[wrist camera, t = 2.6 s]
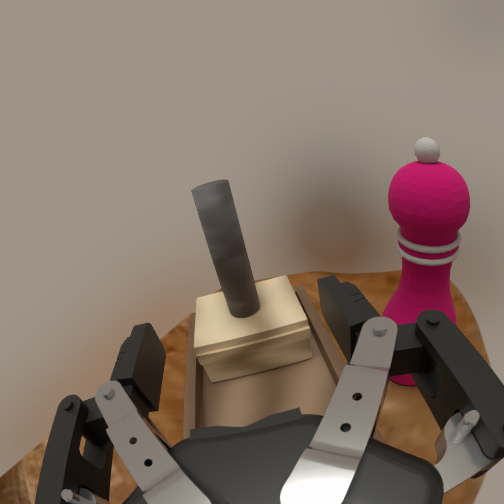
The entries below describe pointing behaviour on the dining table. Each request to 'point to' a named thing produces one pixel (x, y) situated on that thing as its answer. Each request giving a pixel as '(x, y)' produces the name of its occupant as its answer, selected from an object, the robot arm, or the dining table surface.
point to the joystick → (242, 301)
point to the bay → (264, 383)
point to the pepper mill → (426, 235)
